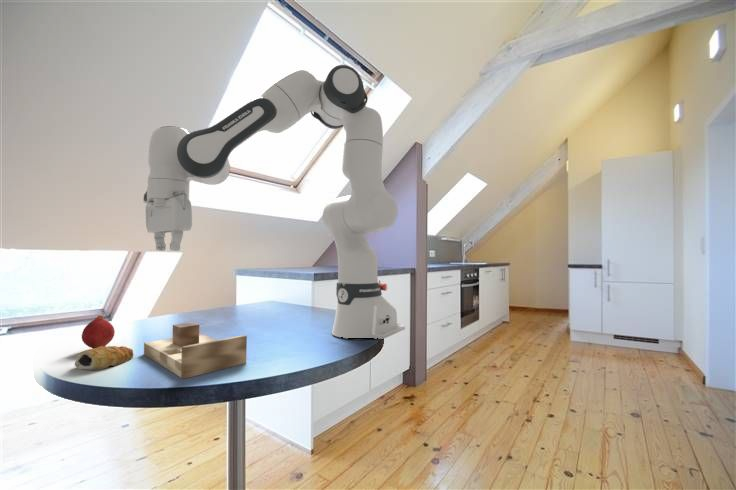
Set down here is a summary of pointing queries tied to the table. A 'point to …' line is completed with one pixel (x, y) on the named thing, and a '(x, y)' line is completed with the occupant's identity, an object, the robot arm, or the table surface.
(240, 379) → the table surface
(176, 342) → the walnut block
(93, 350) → the pastry
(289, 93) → the robot arm
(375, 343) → the table surface
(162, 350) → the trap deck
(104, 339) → the onion
